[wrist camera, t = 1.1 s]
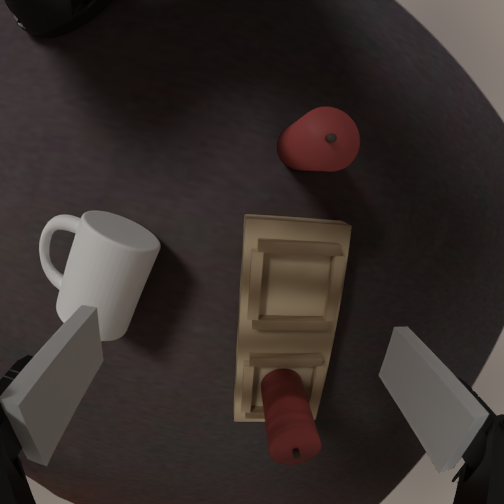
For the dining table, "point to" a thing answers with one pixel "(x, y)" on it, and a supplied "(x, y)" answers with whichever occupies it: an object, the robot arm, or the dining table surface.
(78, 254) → the mug
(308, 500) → the dining table surface
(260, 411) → the oak candlestand
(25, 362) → the robot arm
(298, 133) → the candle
